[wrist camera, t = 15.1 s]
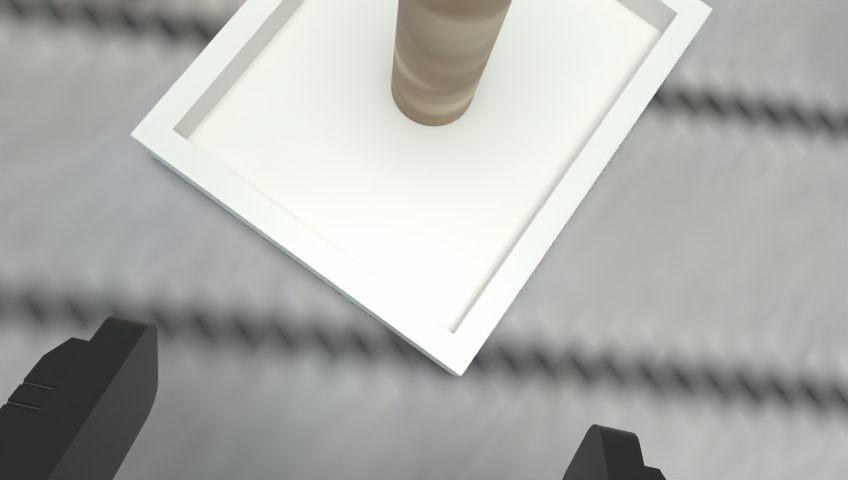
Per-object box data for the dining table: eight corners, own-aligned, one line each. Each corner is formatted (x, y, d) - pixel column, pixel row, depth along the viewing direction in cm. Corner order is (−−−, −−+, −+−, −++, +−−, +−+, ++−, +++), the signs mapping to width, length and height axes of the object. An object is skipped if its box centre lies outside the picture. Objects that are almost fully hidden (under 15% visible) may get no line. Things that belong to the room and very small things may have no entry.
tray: (152, 156, 26) (129, 134, 23) (413, -149, 29) (418, -197, 26) (451, 374, 25) (461, 376, 23) (682, 39, 28) (712, 9, 26)
